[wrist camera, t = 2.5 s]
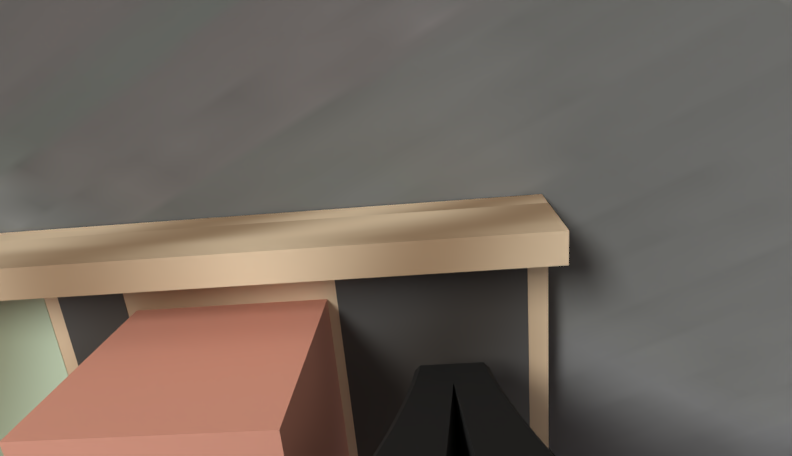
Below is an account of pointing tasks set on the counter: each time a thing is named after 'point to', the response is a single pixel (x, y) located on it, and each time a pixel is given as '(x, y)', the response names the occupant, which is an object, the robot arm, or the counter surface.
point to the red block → (198, 388)
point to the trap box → (303, 294)
